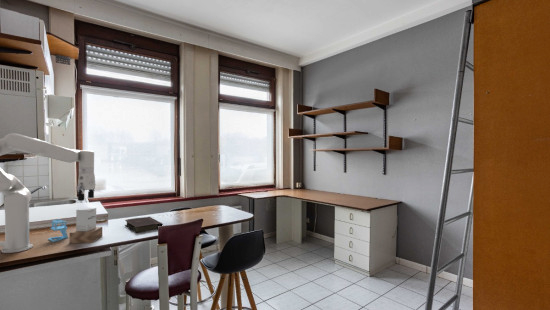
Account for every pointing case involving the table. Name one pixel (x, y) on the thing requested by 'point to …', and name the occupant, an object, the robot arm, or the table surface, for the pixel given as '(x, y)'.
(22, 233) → the robot arm
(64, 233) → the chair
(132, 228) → the diary
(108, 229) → the table surface
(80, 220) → the supplement box
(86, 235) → the walnut block
